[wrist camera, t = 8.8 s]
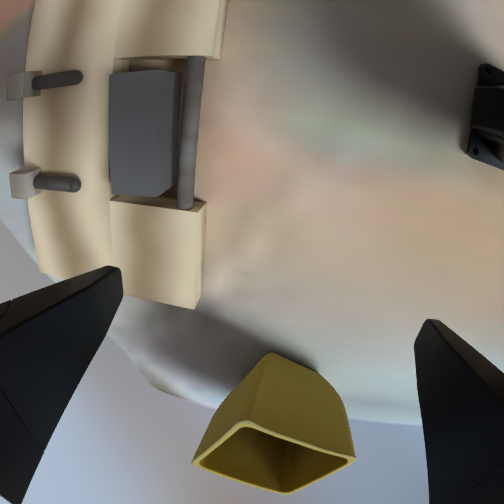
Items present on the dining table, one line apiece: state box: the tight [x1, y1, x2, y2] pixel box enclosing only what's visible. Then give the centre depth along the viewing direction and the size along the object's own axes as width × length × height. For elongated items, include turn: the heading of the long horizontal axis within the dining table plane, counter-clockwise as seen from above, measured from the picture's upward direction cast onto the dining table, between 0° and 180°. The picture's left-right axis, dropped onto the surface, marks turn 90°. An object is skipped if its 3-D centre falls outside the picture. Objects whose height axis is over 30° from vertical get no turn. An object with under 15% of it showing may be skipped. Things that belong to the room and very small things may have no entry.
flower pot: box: [192, 352, 356, 495], centre depth 22 cm, size 9×9×9 cm
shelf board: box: [7, 0, 228, 310], centre depth 17 cm, size 14×23×4 cm, turn 173°
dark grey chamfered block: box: [108, 69, 180, 197], centre depth 17 cm, size 3×7×4 cm, turn 176°
